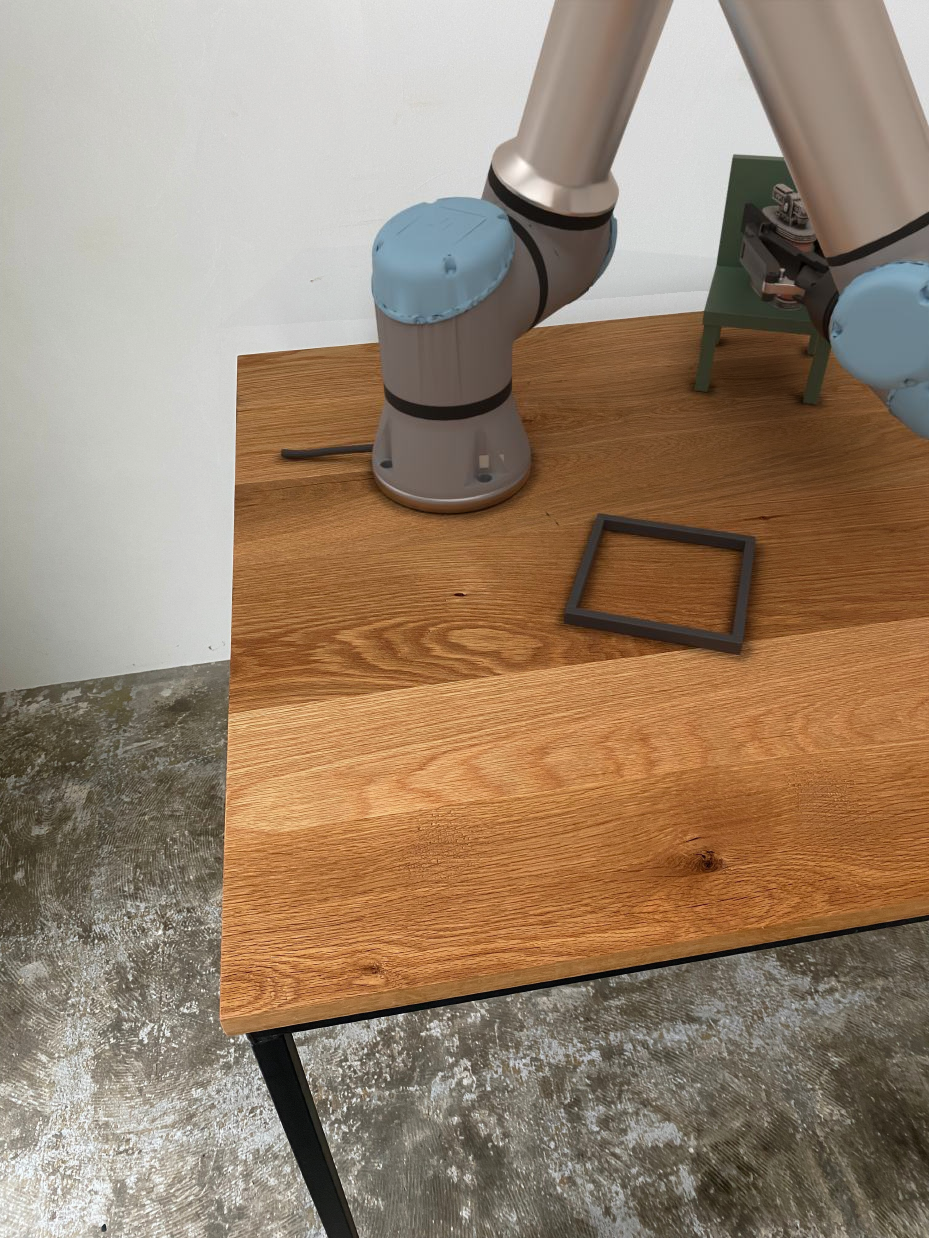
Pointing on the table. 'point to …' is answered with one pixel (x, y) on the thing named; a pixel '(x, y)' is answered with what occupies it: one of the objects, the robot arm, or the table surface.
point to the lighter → (788, 232)
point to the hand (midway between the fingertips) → (765, 215)
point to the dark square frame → (659, 629)
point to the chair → (731, 281)
